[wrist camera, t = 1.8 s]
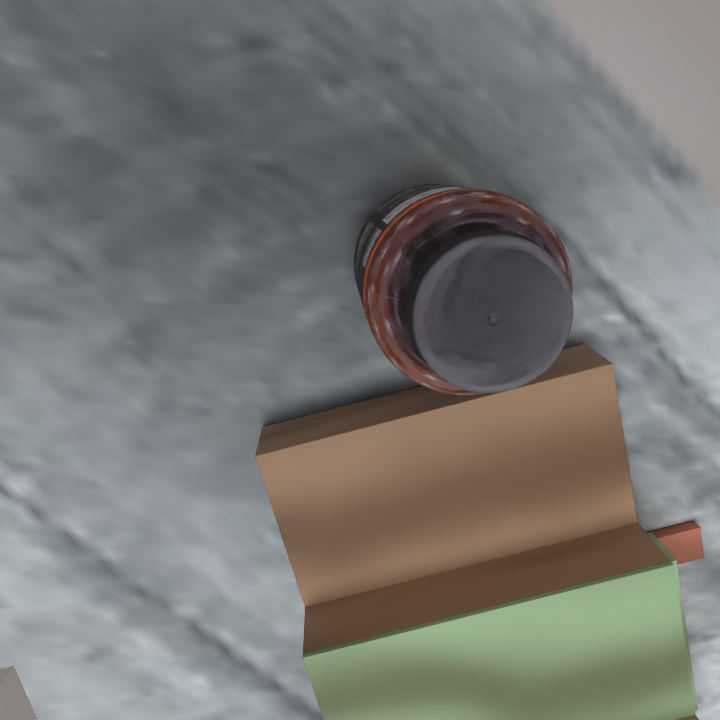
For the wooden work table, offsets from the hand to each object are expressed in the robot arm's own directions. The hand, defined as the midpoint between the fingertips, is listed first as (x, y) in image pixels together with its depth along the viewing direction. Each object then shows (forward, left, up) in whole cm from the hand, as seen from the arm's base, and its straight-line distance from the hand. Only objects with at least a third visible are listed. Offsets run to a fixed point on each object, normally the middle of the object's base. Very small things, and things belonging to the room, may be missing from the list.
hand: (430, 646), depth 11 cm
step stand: (+13, +4, -18) cm, 22 cm away
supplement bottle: (-3, +3, -18) cm, 19 cm away
